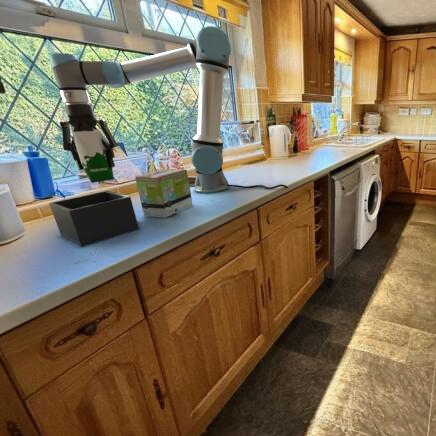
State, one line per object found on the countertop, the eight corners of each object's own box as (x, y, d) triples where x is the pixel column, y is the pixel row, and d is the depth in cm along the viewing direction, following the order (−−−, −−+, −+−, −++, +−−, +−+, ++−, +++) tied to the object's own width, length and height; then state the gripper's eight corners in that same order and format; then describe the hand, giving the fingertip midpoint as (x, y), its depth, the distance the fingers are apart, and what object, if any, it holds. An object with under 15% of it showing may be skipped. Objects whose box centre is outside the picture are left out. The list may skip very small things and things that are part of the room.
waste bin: (116, 220, 105) (107, 190, 102) (139, 228, 97) (130, 196, 93) (61, 236, 93) (48, 203, 89) (81, 247, 85) (69, 210, 81)
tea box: (168, 218, 106) (158, 176, 101) (143, 217, 108) (133, 176, 103) (194, 205, 120) (186, 168, 114) (171, 204, 122) (163, 168, 116)
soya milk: (113, 176, 120) (98, 124, 113) (117, 179, 114) (100, 124, 107) (86, 180, 115) (68, 125, 108) (88, 184, 109) (69, 126, 102)
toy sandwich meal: (210, 184, 152) (209, 175, 151) (181, 187, 148) (179, 178, 146) (209, 179, 163) (208, 171, 162) (182, 182, 159) (181, 173, 157)
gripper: (34, 105, 100) (58, 172, 107) (107, 102, 103) (125, 167, 111) (48, 105, 106) (70, 168, 114) (117, 102, 110) (133, 164, 118)
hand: (97, 168), depth 113 cm, fingers closed on soya milk, 9 cm apart
